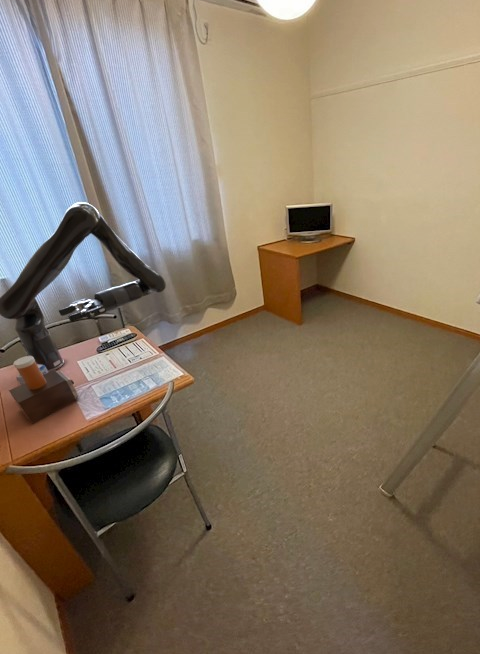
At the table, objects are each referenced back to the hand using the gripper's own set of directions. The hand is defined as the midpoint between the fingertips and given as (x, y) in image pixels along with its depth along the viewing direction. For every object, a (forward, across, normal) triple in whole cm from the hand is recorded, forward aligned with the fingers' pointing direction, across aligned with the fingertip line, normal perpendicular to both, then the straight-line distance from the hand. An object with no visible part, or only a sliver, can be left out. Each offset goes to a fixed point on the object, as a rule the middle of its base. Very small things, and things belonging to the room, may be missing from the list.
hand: (64, 316), depth 111 cm
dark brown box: (+16, 0, +28) cm, 32 cm away
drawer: (+13, 0, +27) cm, 30 cm away
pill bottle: (+16, 0, +19) cm, 25 cm away
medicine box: (+14, -14, +28) cm, 34 cm away
